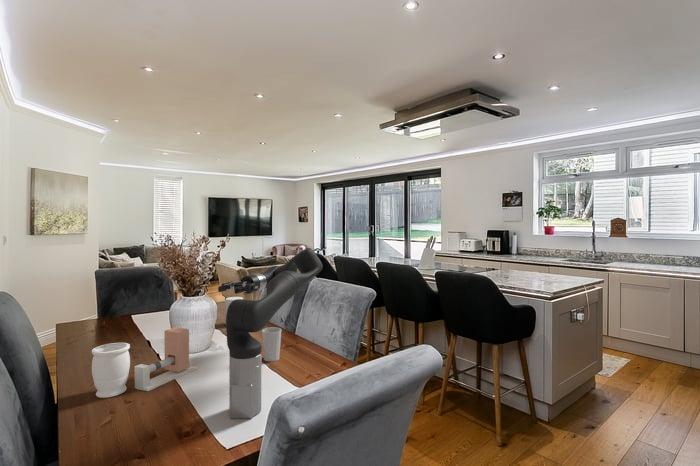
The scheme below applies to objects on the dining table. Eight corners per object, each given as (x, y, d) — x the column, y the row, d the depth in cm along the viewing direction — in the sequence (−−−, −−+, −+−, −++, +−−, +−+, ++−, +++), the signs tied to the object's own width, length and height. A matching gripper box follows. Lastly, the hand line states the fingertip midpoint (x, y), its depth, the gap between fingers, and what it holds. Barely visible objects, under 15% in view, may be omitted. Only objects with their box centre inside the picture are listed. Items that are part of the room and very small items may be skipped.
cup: (276, 362, 149) (277, 333, 148) (258, 361, 150) (258, 332, 150) (284, 356, 156) (284, 327, 156) (266, 354, 158) (266, 326, 158)
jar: (123, 382, 129) (123, 340, 128) (135, 391, 122) (135, 346, 122) (87, 393, 121) (87, 347, 120) (98, 403, 114) (97, 355, 114)
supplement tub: (247, 323, 206) (247, 297, 206) (233, 327, 198) (234, 300, 197) (234, 321, 211) (234, 295, 210) (221, 325, 203) (221, 298, 202)
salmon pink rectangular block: (175, 364, 142) (175, 327, 141) (188, 367, 139) (188, 329, 139) (164, 369, 137) (164, 330, 137) (178, 372, 135) (178, 332, 134)
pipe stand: (184, 366, 144) (184, 347, 144) (196, 368, 142) (196, 349, 142) (134, 388, 124) (134, 366, 124) (147, 391, 122) (147, 369, 122)
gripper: (239, 273, 159) (212, 279, 144) (267, 275, 153) (242, 281, 138) (239, 290, 159) (212, 298, 144) (267, 293, 154) (242, 301, 138)
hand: (227, 290), depth 141 cm, fingers open, 7 cm apart
